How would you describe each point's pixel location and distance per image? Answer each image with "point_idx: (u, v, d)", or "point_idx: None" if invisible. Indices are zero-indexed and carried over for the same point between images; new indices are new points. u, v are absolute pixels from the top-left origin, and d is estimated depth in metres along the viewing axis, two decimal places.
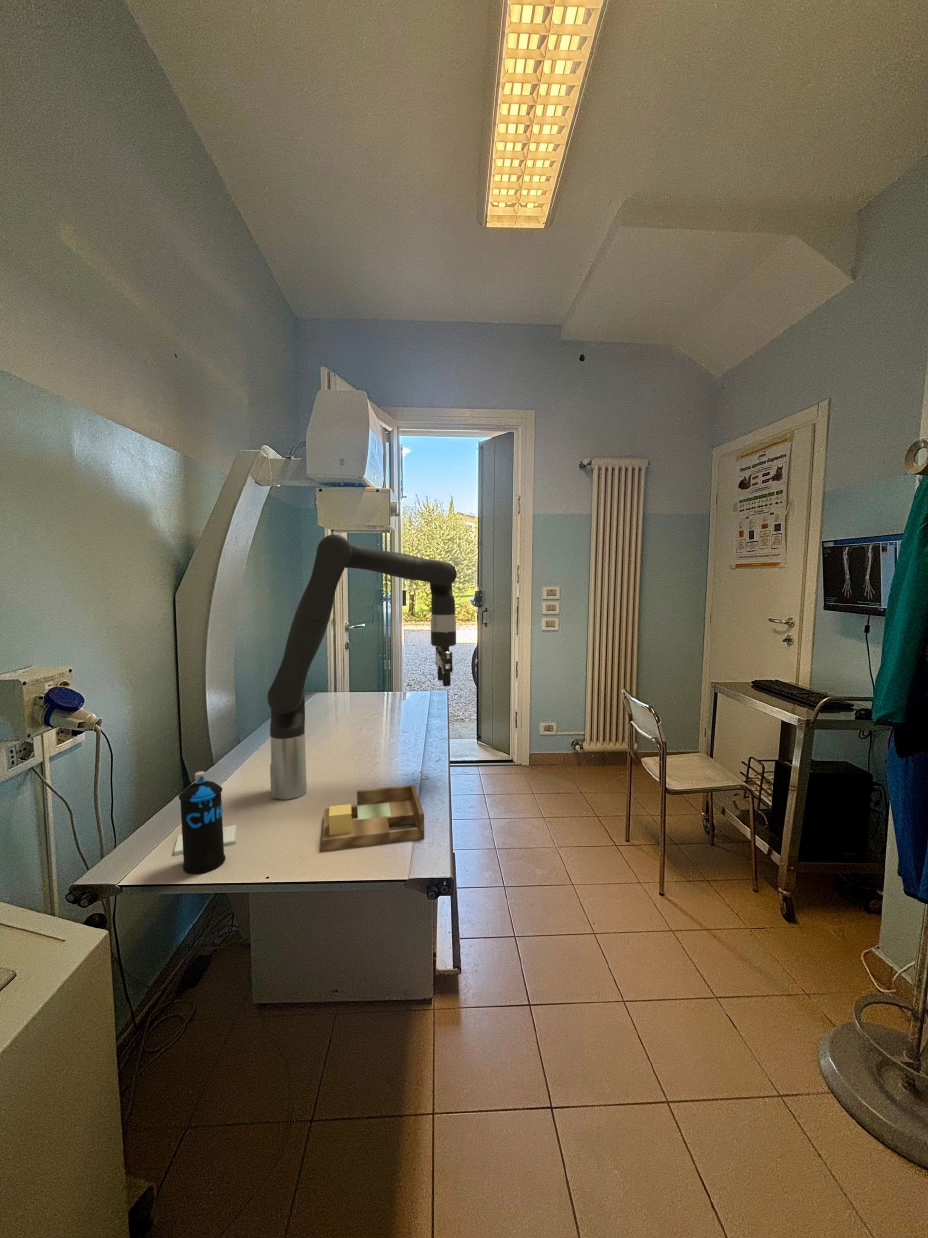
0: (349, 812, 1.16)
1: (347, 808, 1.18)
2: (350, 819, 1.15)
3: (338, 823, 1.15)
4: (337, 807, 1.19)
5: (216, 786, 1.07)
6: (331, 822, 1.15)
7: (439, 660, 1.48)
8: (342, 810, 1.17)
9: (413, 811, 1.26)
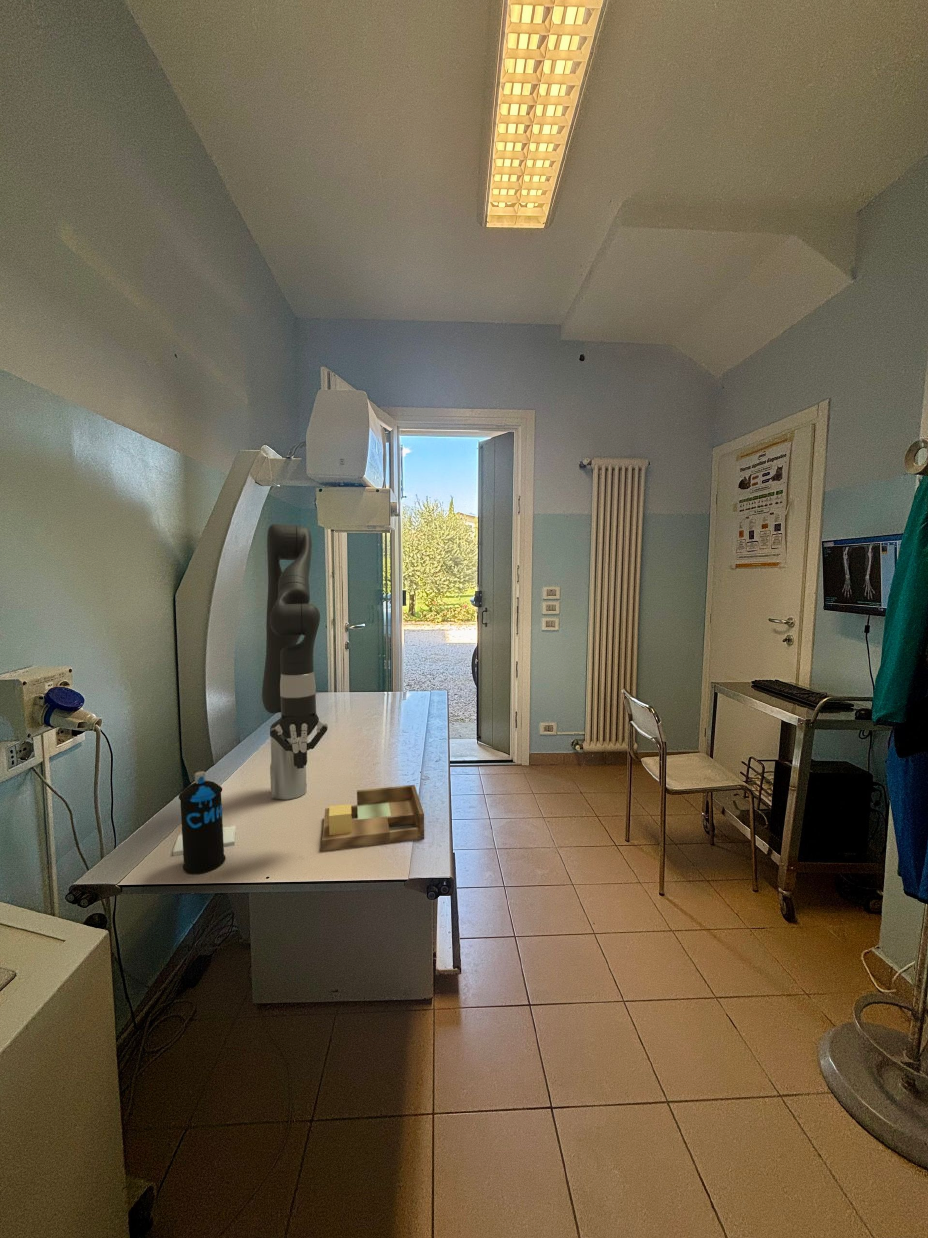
0: (349, 812, 1.16)
1: (347, 808, 1.18)
2: (350, 819, 1.15)
3: (338, 823, 1.15)
4: (337, 807, 1.19)
5: (216, 786, 1.07)
6: (331, 822, 1.15)
7: (303, 734, 1.12)
8: (342, 810, 1.17)
9: (413, 811, 1.26)
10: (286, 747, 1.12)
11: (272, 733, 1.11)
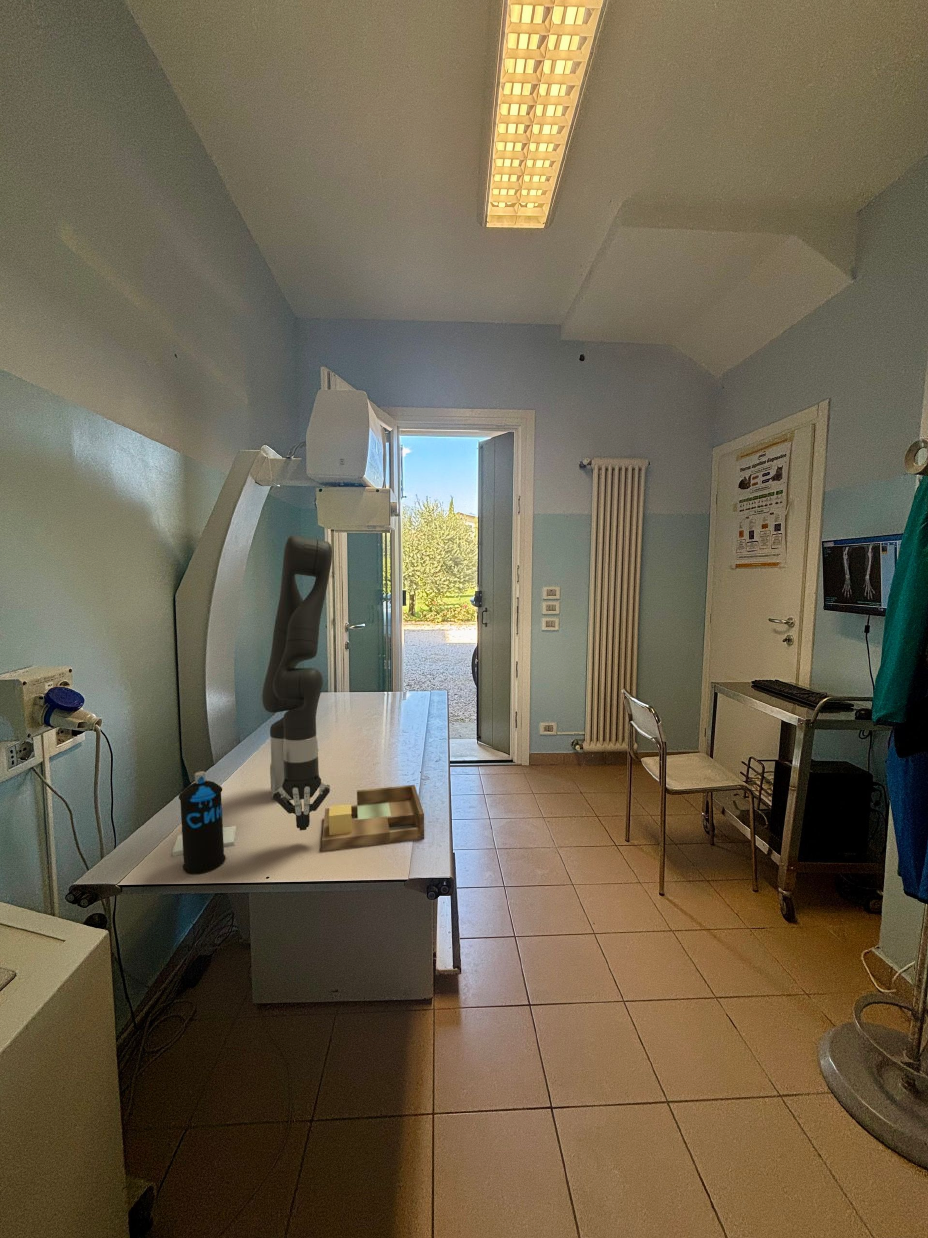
0: (349, 812, 1.16)
1: (347, 808, 1.18)
2: (350, 819, 1.15)
3: (338, 823, 1.15)
4: (337, 807, 1.19)
5: (216, 786, 1.07)
6: (331, 822, 1.15)
7: (306, 797, 1.14)
8: (342, 810, 1.17)
9: (413, 811, 1.26)
10: (289, 810, 1.13)
11: (275, 796, 1.12)
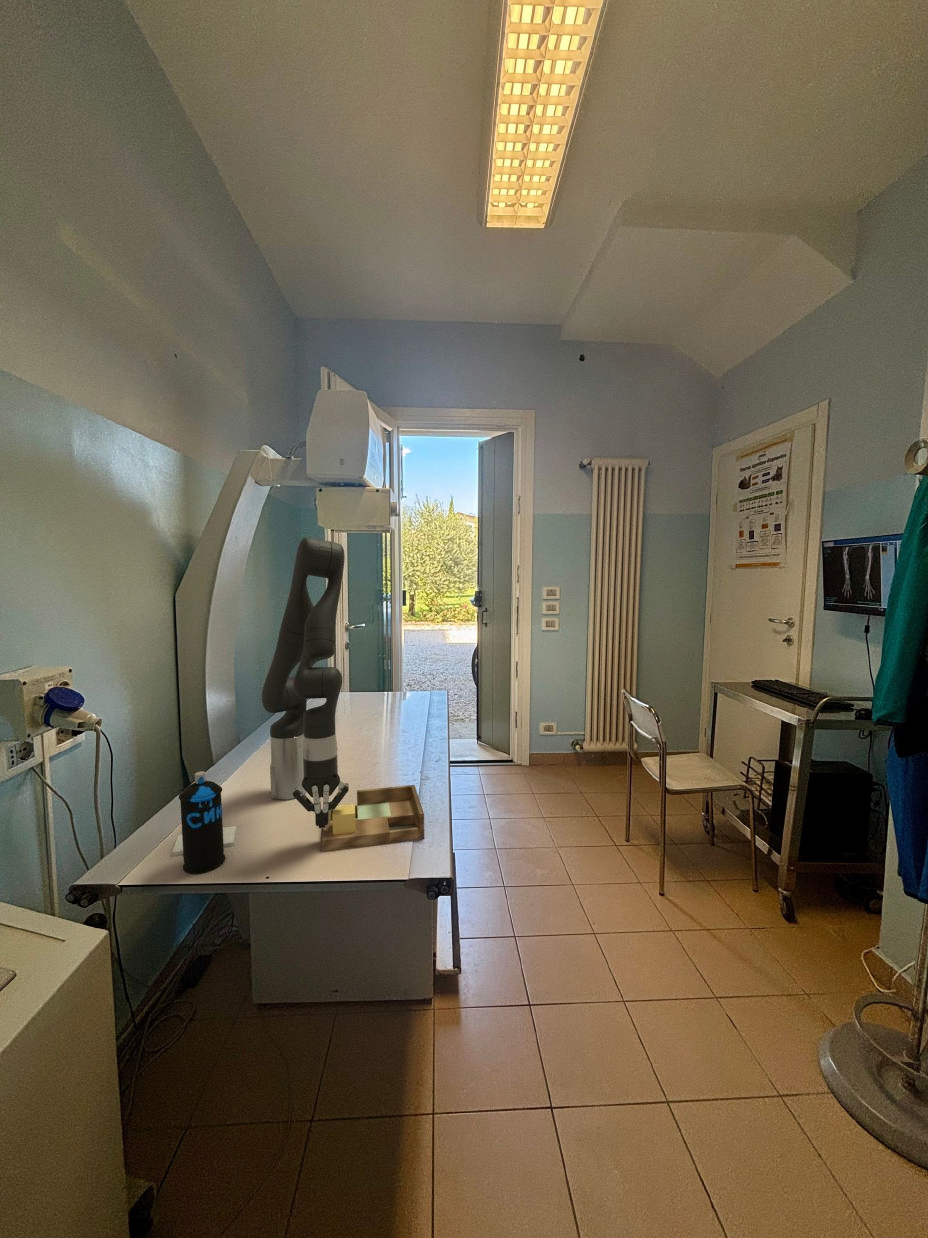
0: (353, 812, 1.16)
1: (351, 808, 1.18)
2: (354, 819, 1.16)
3: (342, 823, 1.15)
4: (341, 807, 1.19)
5: (216, 786, 1.07)
6: (334, 822, 1.15)
7: (325, 795, 1.14)
8: (345, 810, 1.17)
9: (413, 811, 1.26)
10: (308, 808, 1.14)
11: (295, 794, 1.13)
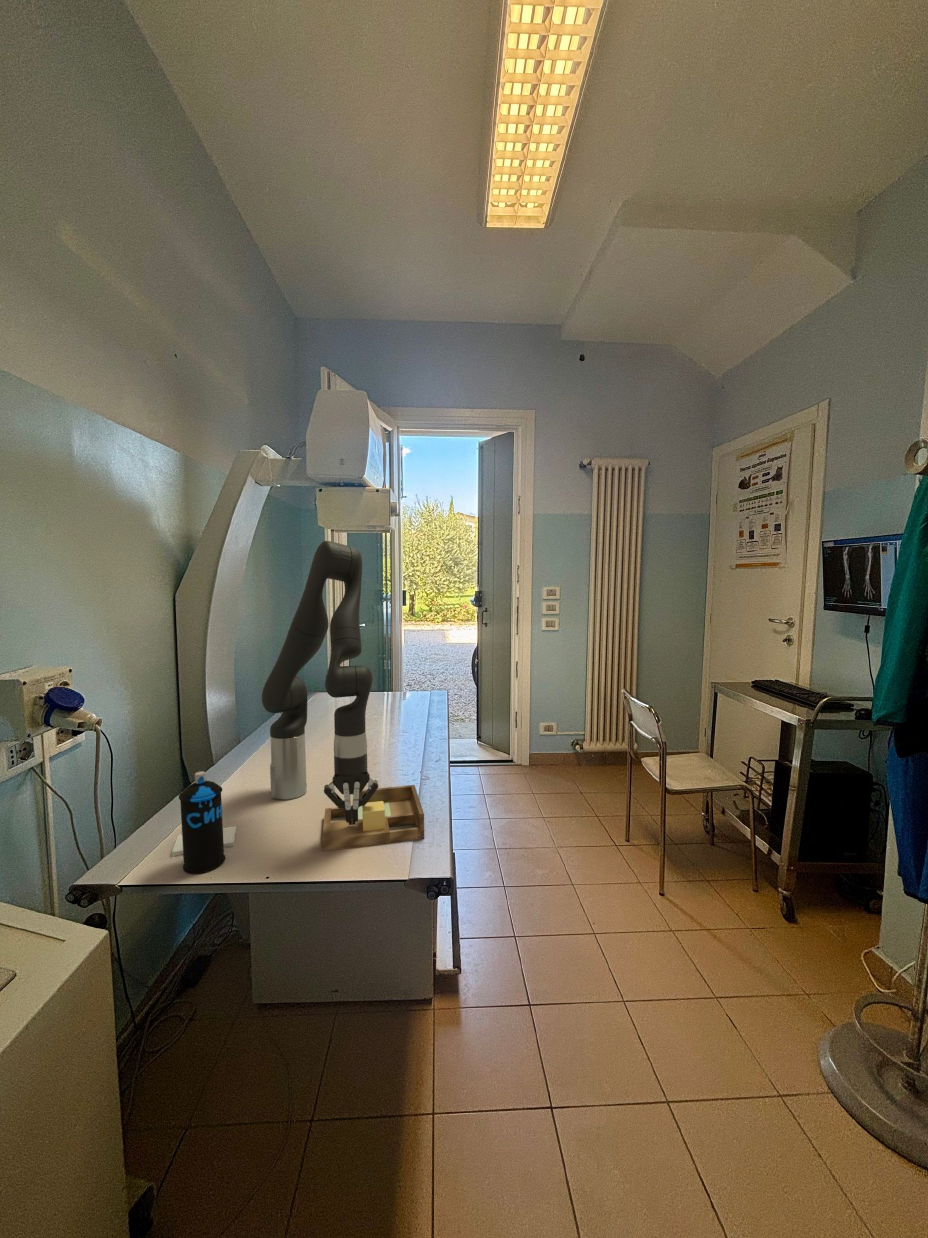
0: (382, 809, 1.18)
1: (380, 805, 1.20)
2: (383, 815, 1.17)
3: (372, 819, 1.17)
4: (370, 804, 1.20)
5: (216, 786, 1.07)
6: (365, 819, 1.16)
7: (355, 792, 1.16)
8: (375, 807, 1.19)
9: (413, 811, 1.26)
10: (339, 804, 1.16)
11: (326, 791, 1.15)
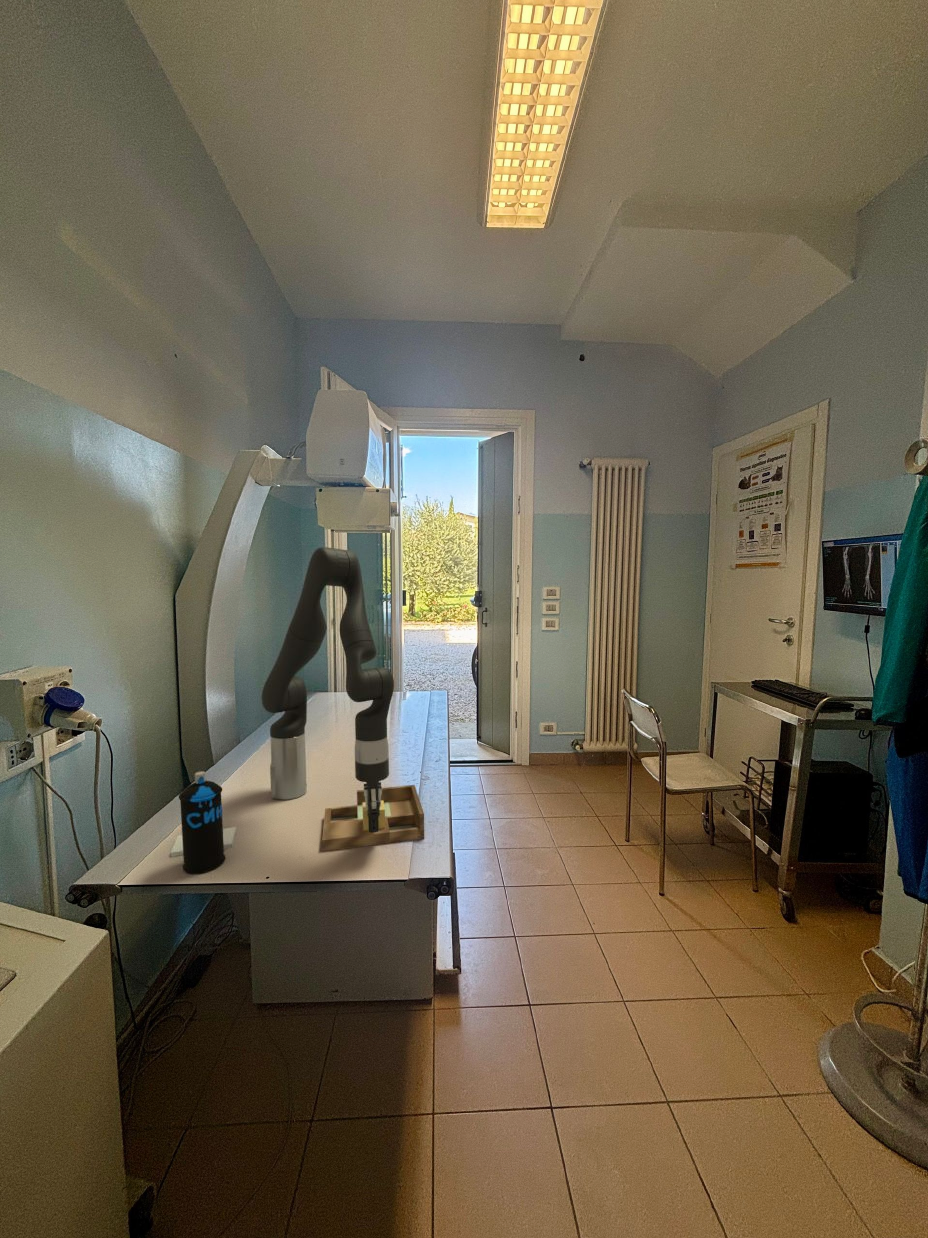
0: (382, 808, 1.18)
1: None
2: (383, 815, 1.17)
3: None
4: None
5: (216, 786, 1.07)
6: (365, 818, 1.17)
7: None
8: None
9: (413, 811, 1.26)
10: (379, 813, 1.12)
11: (379, 803, 1.09)
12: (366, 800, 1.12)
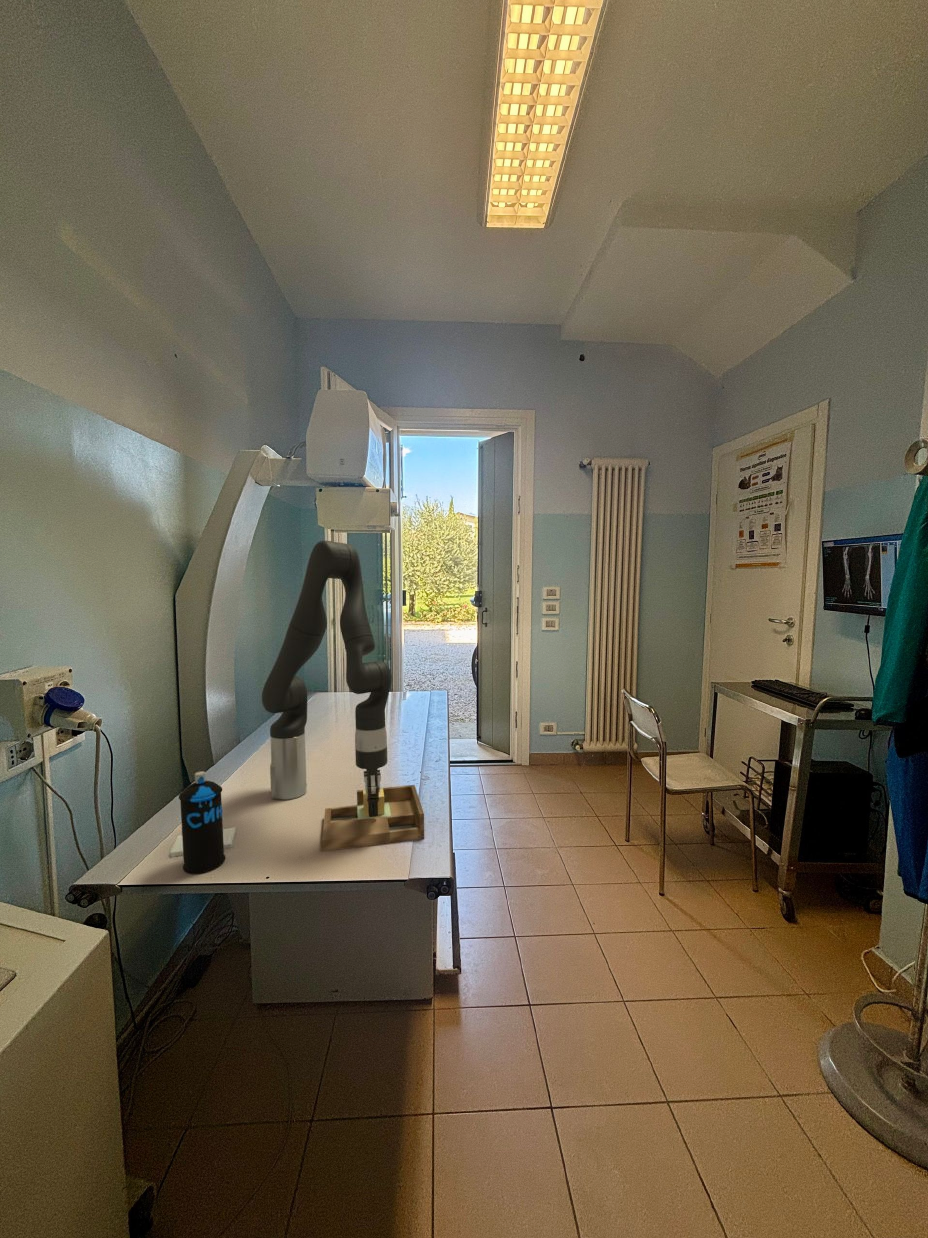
0: (382, 795, 1.25)
1: (380, 792, 1.27)
2: (383, 801, 1.24)
3: None
4: None
5: (216, 786, 1.07)
6: (365, 805, 1.24)
7: None
8: None
9: (413, 811, 1.26)
10: (378, 798, 1.19)
11: (379, 788, 1.16)
12: (366, 786, 1.19)
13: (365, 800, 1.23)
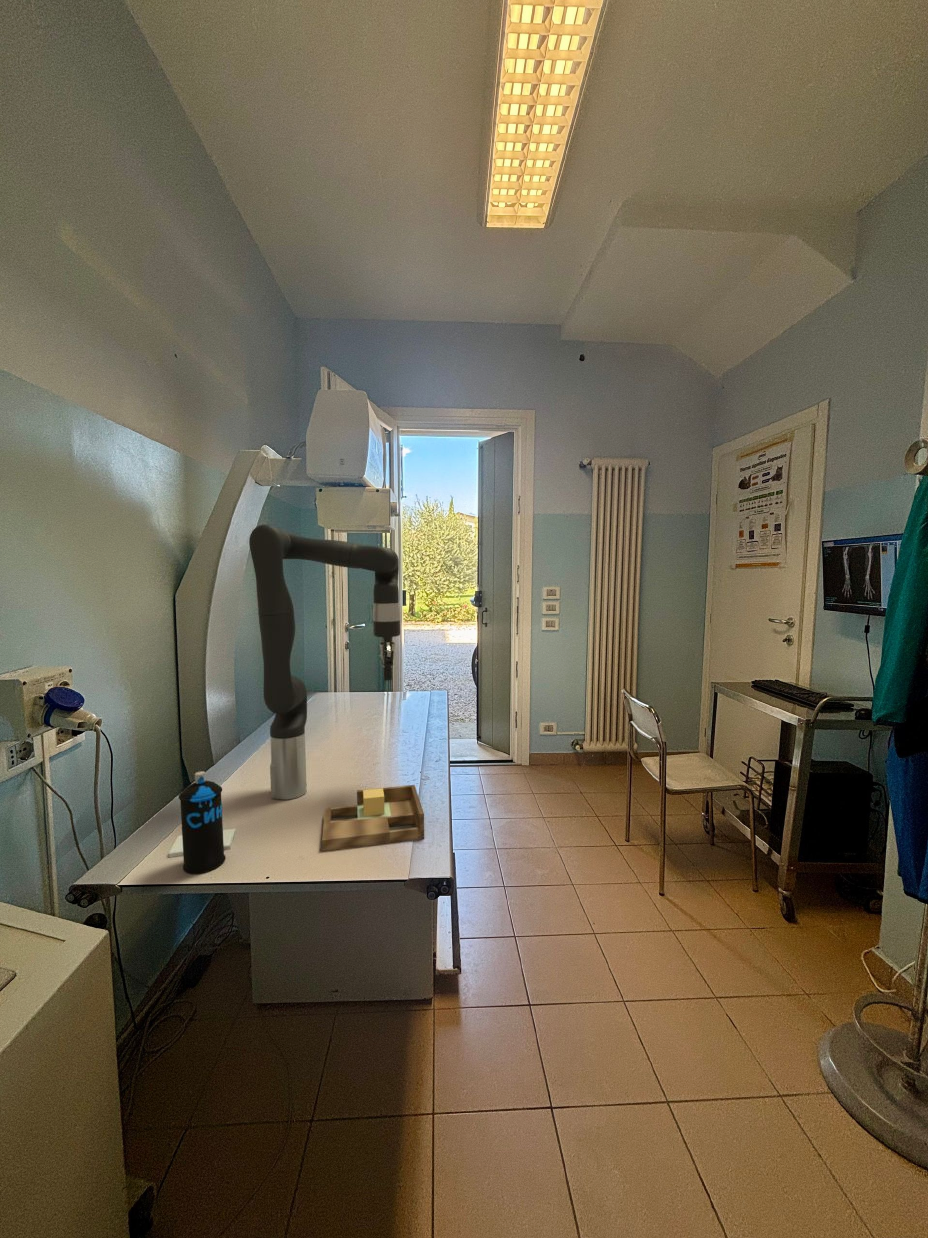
0: (382, 795, 1.25)
1: (380, 792, 1.27)
2: (383, 801, 1.24)
3: (372, 805, 1.24)
4: (370, 791, 1.28)
5: (216, 786, 1.07)
6: (365, 804, 1.24)
7: None
8: (375, 793, 1.26)
9: (413, 811, 1.26)
10: (392, 662, 1.40)
11: (393, 652, 1.37)
12: (382, 652, 1.40)
13: (365, 800, 1.23)
